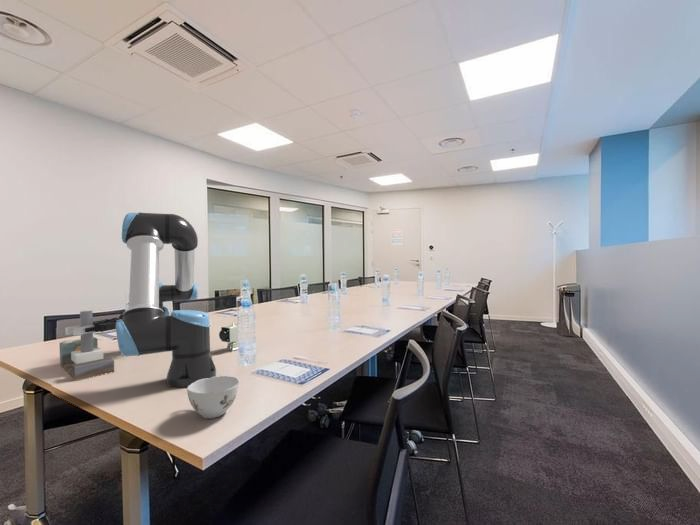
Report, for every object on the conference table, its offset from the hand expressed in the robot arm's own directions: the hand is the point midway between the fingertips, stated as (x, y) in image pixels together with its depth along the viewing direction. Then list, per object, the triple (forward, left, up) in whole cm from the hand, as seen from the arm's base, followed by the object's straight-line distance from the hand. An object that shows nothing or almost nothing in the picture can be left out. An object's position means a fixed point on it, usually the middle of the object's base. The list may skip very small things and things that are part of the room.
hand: (70, 331), depth 117 cm
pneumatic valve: (-18, -53, -16) cm, 58 cm away
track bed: (+4, -5, -15) cm, 17 cm away
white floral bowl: (-69, -17, -16) cm, 73 cm away
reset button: (+13, -5, -11) cm, 18 cm away
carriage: (+2, -5, -13) cm, 14 cm away
